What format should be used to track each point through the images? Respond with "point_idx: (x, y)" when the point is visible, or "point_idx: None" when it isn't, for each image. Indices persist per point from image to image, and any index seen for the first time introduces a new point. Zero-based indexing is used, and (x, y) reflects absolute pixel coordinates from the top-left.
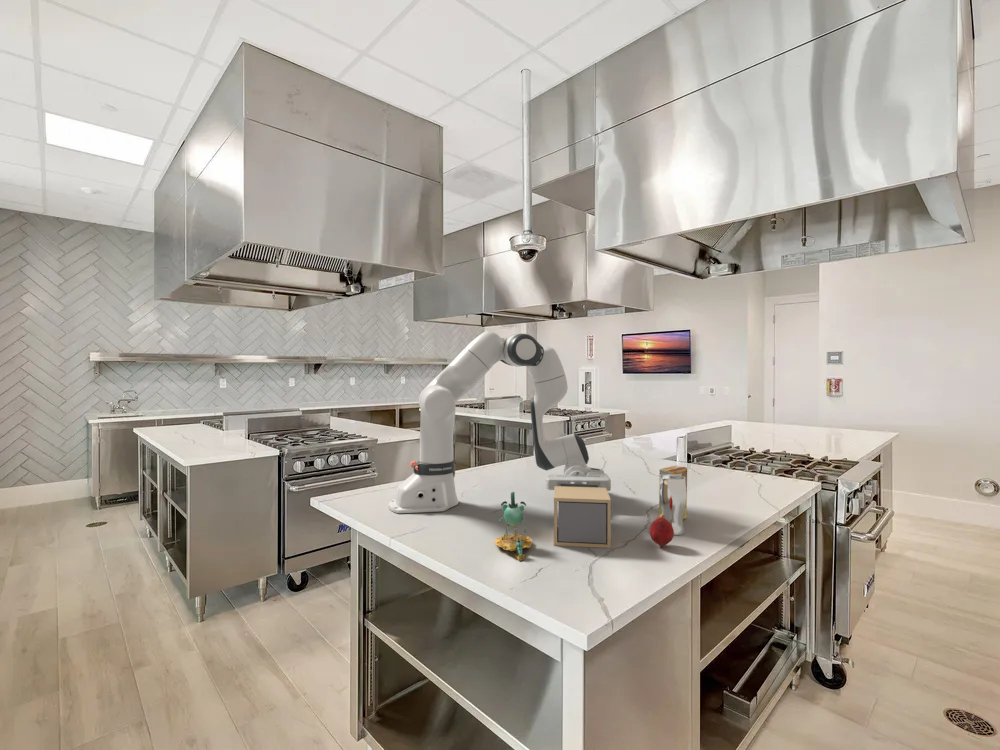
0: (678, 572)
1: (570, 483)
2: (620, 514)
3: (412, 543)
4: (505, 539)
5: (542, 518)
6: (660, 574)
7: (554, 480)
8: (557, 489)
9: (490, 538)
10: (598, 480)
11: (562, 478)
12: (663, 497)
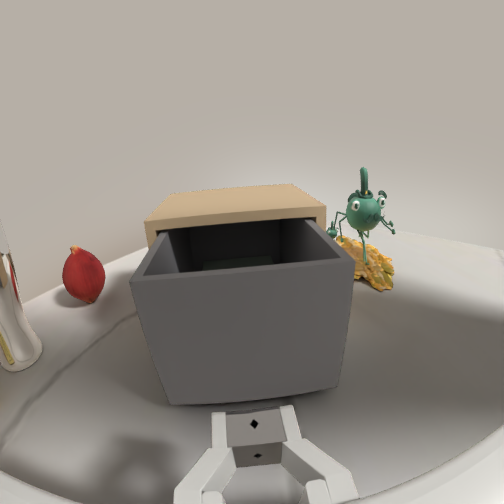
0: (121, 258)
1: (348, 472)
2: (66, 489)
3: (467, 246)
4: (373, 255)
5: (395, 391)
6: (144, 253)
7: (490, 434)
8: (303, 197)
9: (410, 272)
10: (50, 494)
11: (457, 487)
12: (12, 264)
